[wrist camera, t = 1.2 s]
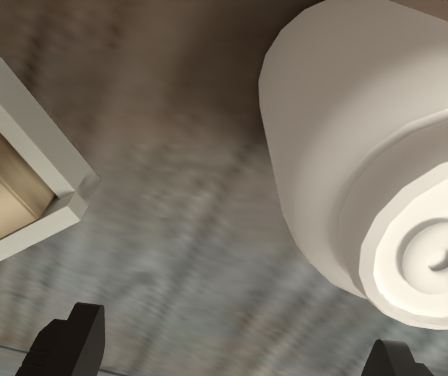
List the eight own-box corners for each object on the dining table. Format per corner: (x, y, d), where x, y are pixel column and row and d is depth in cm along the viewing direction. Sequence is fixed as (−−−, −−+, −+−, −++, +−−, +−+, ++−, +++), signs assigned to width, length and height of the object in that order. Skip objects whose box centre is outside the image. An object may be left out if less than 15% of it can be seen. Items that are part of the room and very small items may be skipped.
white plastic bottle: (274, 171, 35) (321, 392, 18) (240, 20, 29) (263, 135, 12) (425, 137, 33) (637, 344, 16) (424, -31, 27) (764, 17, 10)
